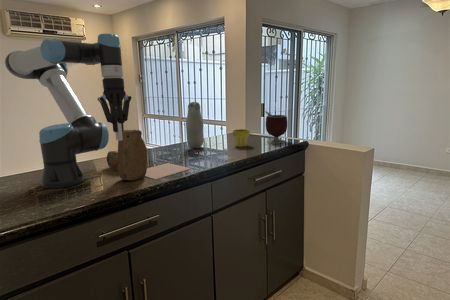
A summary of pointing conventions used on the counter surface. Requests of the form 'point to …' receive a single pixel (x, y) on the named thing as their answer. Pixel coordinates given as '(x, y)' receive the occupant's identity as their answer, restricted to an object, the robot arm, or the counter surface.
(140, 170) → the block
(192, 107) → the grey bottle
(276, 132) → the mate gourd
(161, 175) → the pad
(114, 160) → the mottled brown rounded slab
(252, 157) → the counter surface
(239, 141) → the plant pot
